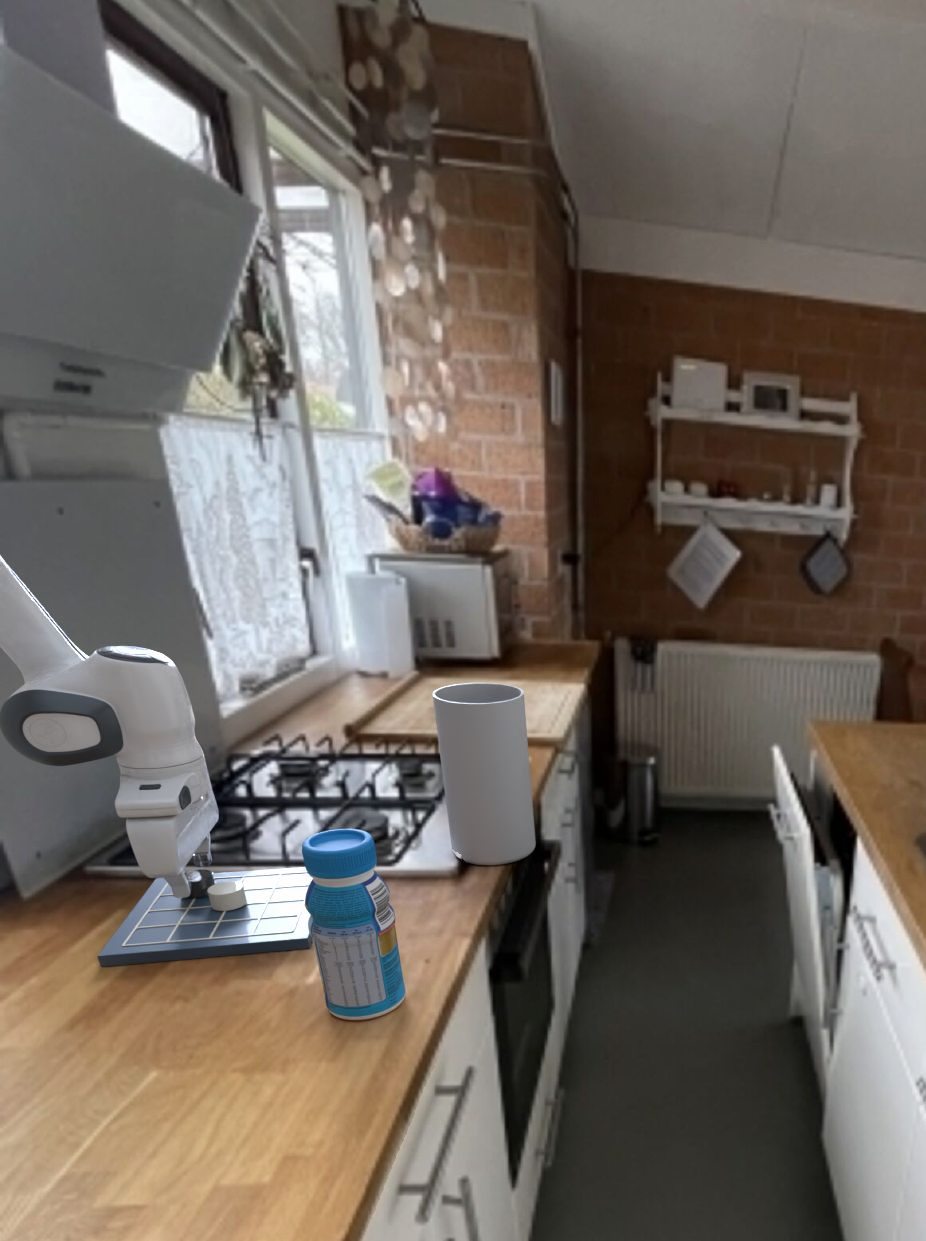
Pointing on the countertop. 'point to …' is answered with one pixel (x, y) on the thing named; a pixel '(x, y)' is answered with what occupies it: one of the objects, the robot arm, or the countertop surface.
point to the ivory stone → (227, 896)
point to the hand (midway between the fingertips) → (194, 879)
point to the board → (215, 921)
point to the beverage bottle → (352, 925)
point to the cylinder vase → (486, 771)
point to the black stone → (200, 882)
